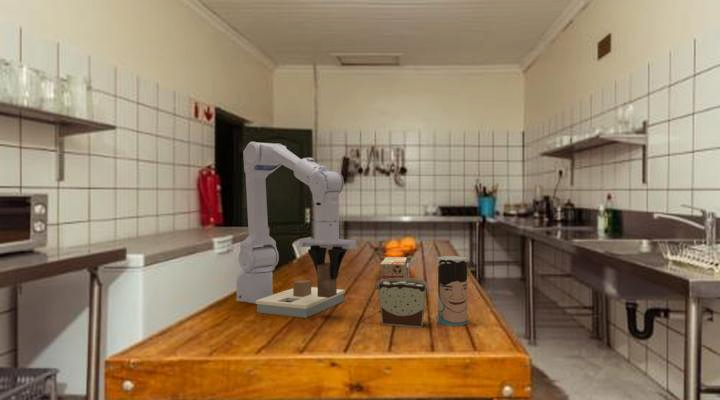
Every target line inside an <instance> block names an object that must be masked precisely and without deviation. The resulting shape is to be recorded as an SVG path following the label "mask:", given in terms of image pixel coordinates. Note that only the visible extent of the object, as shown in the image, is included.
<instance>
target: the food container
mask: <svg viewBox="0 0 720 400" xmlns="http://www.w3.org/2000/svg"><path fill="white" fill-rule="evenodd" d="M375 290H376V291H377V290H378V298H379V307H380V315H381V316H380V317H381V324H382V325H386V326H387V325H388V326H395V327H396V326H397V327H410V328H412V327H413V328H424V327H423V325H424V316H425V304H426V295H427V293H428V294H429V286H428V284H427V281H425V280H423V279H417V278H412V277H411V278H390V279H383V280H377V283H376V287H375Z"/></svg>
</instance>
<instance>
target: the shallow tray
mask: <svg viewBox="0 0 720 400" xmlns="http://www.w3.org/2000/svg"><path fill="white" fill-rule="evenodd" d="M344 301H345V293H344V294H341V295H339V296H336V297H334V298H332V299H329V300H327V301H324V302H322V303H320V304H317V305H315V306H312V307H310V308H308V309H302V308H292V307H282V306H273V305H263V304H256V306H257V307H256V310H257V311H256V312H257V313H258V314H266V315H267V314H268V315H276V316H284V317H293V318H294V317H295V318H303V319H308V318H309V317H312V316H314V315H316V314H318V313H321V312H323V311H325V310H327V309H329V308H331V307H335V306H336V305H338V304H340V303H344ZM285 302H289V303H291V302H293V301H288V300H287V301H285Z"/></svg>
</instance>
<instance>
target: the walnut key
mask: <svg viewBox="0 0 720 400" xmlns="http://www.w3.org/2000/svg"><path fill="white" fill-rule="evenodd" d="M316 276H317V277H316V279H317V280H316V281H317V282H316V283H317V286H316V288H318V297H327V298H329V297H332V296H334V295H337V289H338V288H337V283H338V282H337V278H336V279H331V274H330V262H325V263H323V264H319V265H317V272H316Z"/></svg>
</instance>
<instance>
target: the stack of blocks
mask: <svg viewBox="0 0 720 400" xmlns="http://www.w3.org/2000/svg"><path fill="white" fill-rule="evenodd" d="M379 265H380V267H379V269H380V270H379V271H380V272H379V273H380V274H379V275H380V277H379V279H380V280H383V279H390V278H410V263H409V262H408V257H405V256H402V257H400V256H399V257H397V256H394V257H391V256H385V257H384V258H383V260H382V261H381V262H380V264H379Z"/></svg>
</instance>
